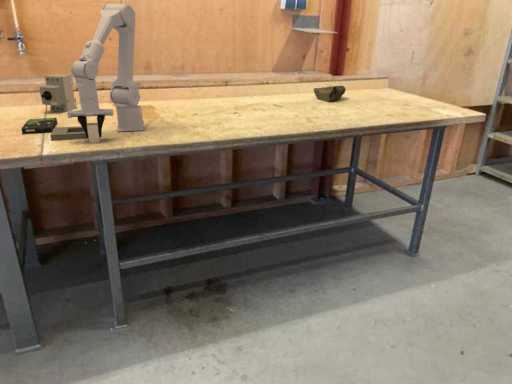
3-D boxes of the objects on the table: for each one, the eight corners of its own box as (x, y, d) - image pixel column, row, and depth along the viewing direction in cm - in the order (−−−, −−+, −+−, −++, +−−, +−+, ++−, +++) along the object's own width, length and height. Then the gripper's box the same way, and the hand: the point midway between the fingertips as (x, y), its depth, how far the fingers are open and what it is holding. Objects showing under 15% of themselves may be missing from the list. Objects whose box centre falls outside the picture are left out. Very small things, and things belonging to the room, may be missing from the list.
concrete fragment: (308, 93, 221) (325, 75, 225) (318, 109, 225) (335, 91, 229) (325, 91, 208) (343, 72, 212) (336, 107, 213) (353, 88, 217)
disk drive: (53, 134, 154) (57, 123, 167) (52, 126, 153) (56, 117, 166) (22, 136, 151) (29, 125, 164) (20, 128, 150) (27, 118, 163)
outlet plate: (101, 130, 158) (100, 125, 157) (99, 137, 149) (99, 132, 148) (55, 132, 154) (54, 127, 153) (51, 140, 145) (50, 135, 144)
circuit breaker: (41, 113, 180) (34, 78, 174) (62, 107, 192) (57, 73, 186) (56, 115, 178) (50, 79, 172) (77, 108, 191) (71, 74, 185)
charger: (100, 139, 148) (97, 122, 145) (99, 141, 145) (97, 124, 142) (90, 139, 147) (87, 122, 144) (89, 142, 144) (86, 125, 141)
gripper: (63, 100, 134) (70, 141, 140) (111, 99, 138) (115, 138, 143) (66, 96, 140) (72, 135, 146) (111, 95, 144) (116, 133, 150)
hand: (94, 136), depth 145 cm, fingers closed on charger, 3 cm apart
